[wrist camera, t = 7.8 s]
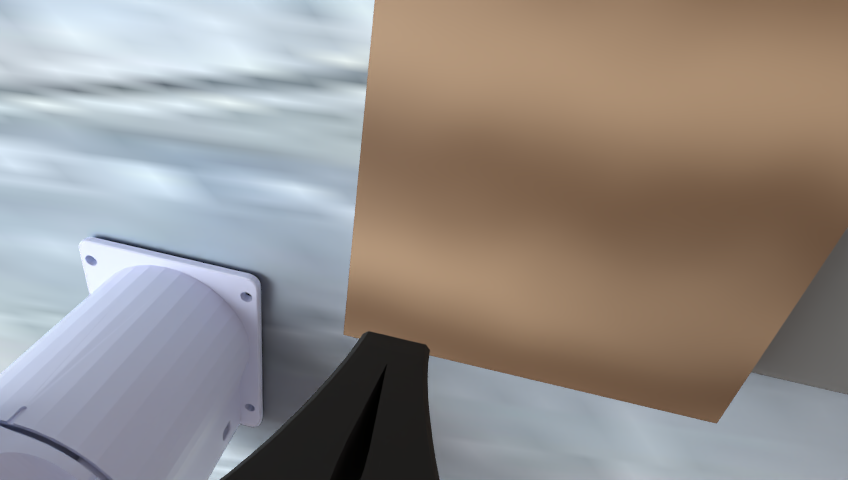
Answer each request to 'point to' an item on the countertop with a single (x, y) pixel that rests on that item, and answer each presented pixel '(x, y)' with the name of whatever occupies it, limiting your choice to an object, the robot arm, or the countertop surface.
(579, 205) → the board
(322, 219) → the countertop surface
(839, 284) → the mat
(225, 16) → the countertop surface
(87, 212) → the countertop surface
